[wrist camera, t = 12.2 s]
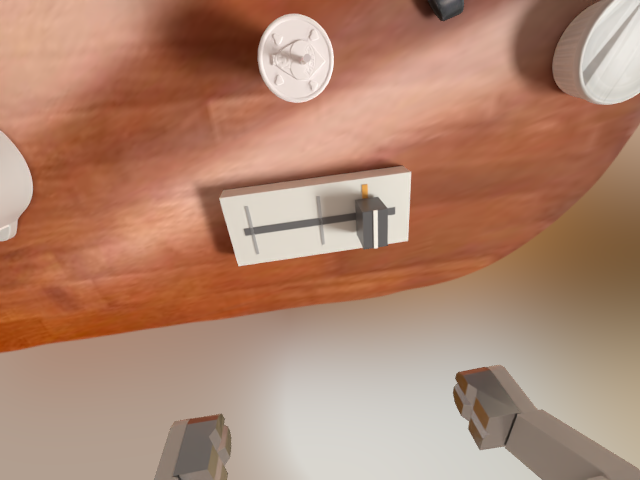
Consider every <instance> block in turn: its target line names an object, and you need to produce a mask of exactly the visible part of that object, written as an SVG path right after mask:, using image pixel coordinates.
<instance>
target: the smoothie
mask: <svg viewBox="0 0 640 480" xmlns="http://www.w3.org/2000/svg"><path fill="white" fill-rule="evenodd" d="M258 65H259V71H260V74H261V76H262V78H263V81H264V83H265V84H266V85H267V87H268V88H269V89H270V91H272V92H273V93H274V94H275V95H276V96H278V97H279V98H281V99H283V100H286V101H289V102H295V103H298V102H306V101H308V100H311V99H313V98H315V97H316V96H318V95H319V94H320V93H321V92H322V91H323V90H324V89H325V87H326V86H327V84H328V82H329V80H330V78H331V75H332V71H333V65H334V55H333V49H332V45H331V42H330V40H329V37H328V36H327V34H326V32H325V31H324V29H323V28H322V27H321V26H320V25H319V24H318V23H317V22H316V21H314V20H313V19H311V18H309V17H307V16H304V15H300V14H288V15H284V16H282V17H279V18H278V19H276V20H275V21H273V22H272V23H271V24H270V25H269V26H268V27H267V29H266V30H265V32H264V33H263V35H262V37H261V40H260V43H259V47H258Z"/></svg>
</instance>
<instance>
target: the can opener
mask: <svg viewBox="0 0 640 480" xmlns="http://www.w3.org/2000/svg"><path fill="white" fill-rule="evenodd" d="M428 2H429V4H430V6H431V8H432V10H433V11H434V13H435V14H436V16H437V17H438V18H439V19H440V20H441V21H445V20H447V19H450V18H452V17H454V16H456V15H459V14H460V13H462V12H463V8H464V0H428Z"/></svg>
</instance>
